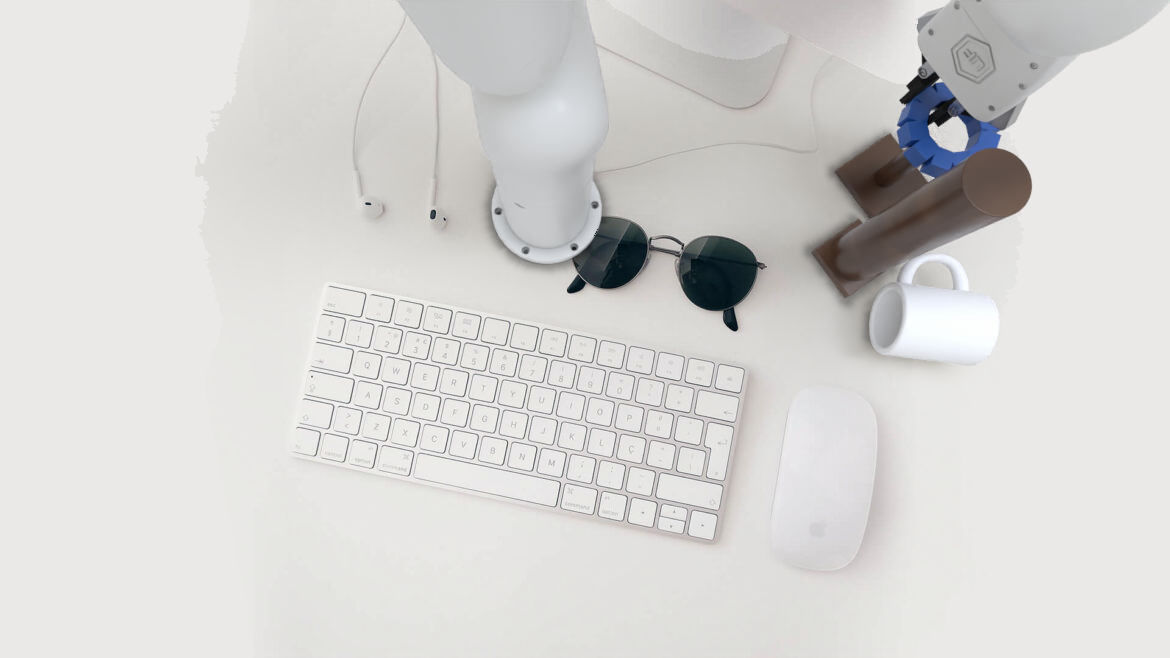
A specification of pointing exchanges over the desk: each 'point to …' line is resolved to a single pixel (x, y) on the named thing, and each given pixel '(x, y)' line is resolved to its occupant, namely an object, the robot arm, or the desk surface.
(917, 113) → the ring
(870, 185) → the post stand
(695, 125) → the desk surface
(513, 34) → the robot arm
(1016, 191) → the brown cylinder
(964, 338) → the mug
